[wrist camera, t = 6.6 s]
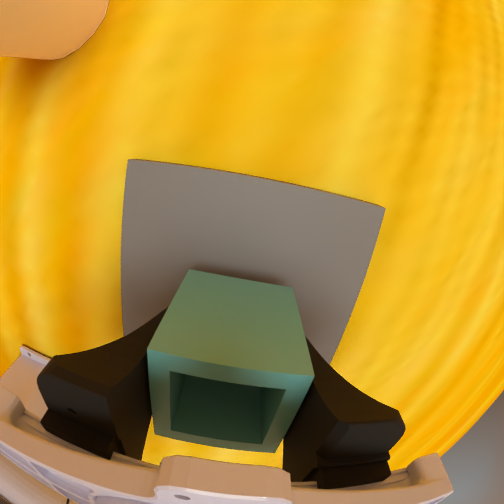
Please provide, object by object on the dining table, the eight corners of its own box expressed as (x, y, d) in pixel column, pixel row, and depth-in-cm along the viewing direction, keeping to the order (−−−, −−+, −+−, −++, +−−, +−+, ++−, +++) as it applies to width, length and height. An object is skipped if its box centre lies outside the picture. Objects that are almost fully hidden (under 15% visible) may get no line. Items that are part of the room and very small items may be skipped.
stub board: (131, 355, 18) (109, 396, 14) (135, 158, 14) (93, 162, 10) (312, 386, 19) (322, 431, 15) (378, 204, 15) (418, 223, 10)
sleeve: (182, 348, 15) (154, 434, 9) (189, 269, 13) (147, 348, 7) (270, 363, 15) (274, 452, 9) (292, 287, 13) (314, 375, 8)
